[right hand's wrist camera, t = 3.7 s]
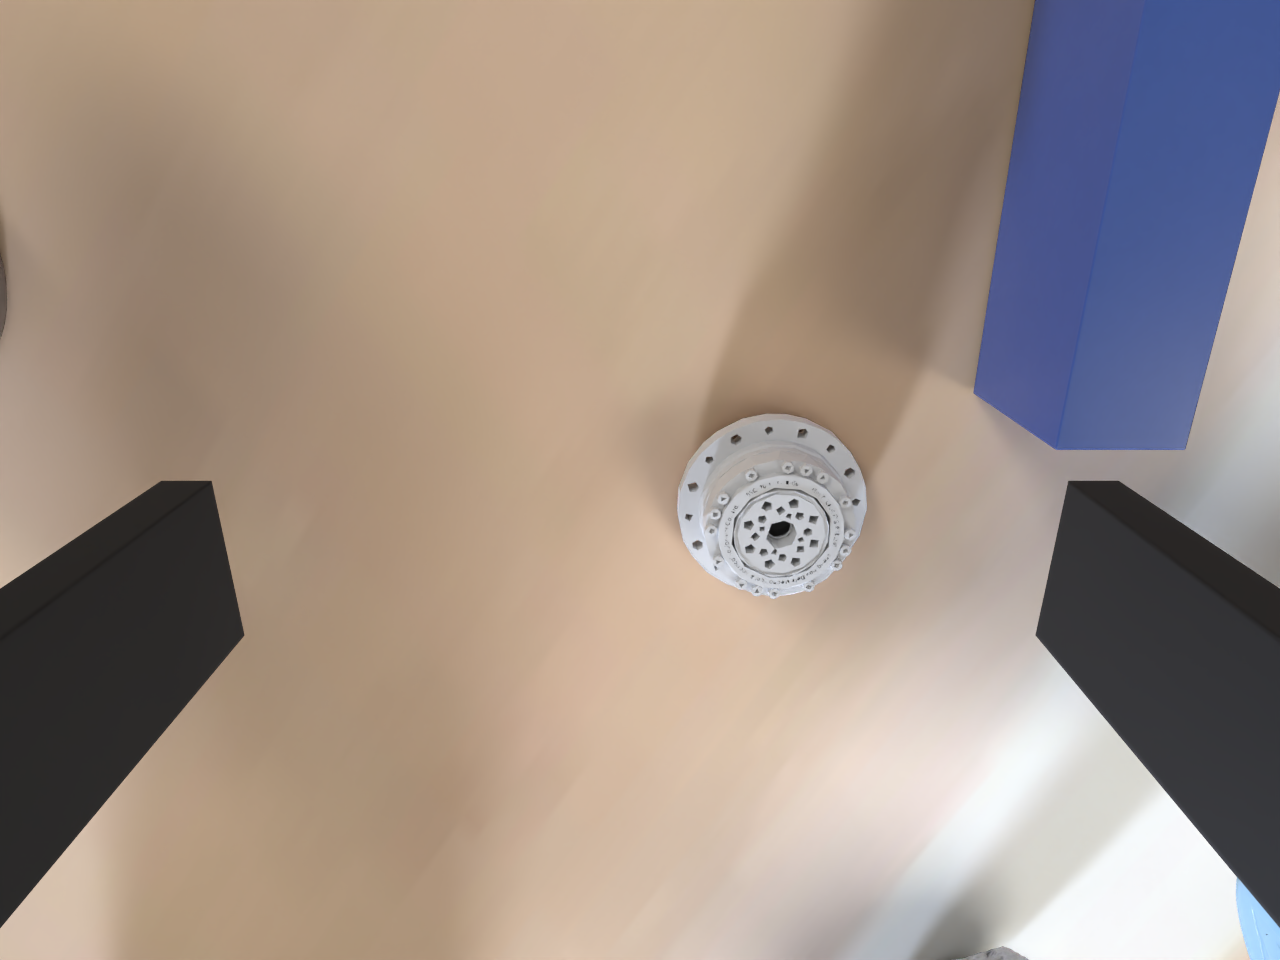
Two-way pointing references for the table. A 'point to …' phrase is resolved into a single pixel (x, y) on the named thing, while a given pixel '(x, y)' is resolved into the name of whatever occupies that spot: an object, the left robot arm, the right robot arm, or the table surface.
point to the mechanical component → (771, 504)
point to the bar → (1125, 214)
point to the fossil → (996, 955)
